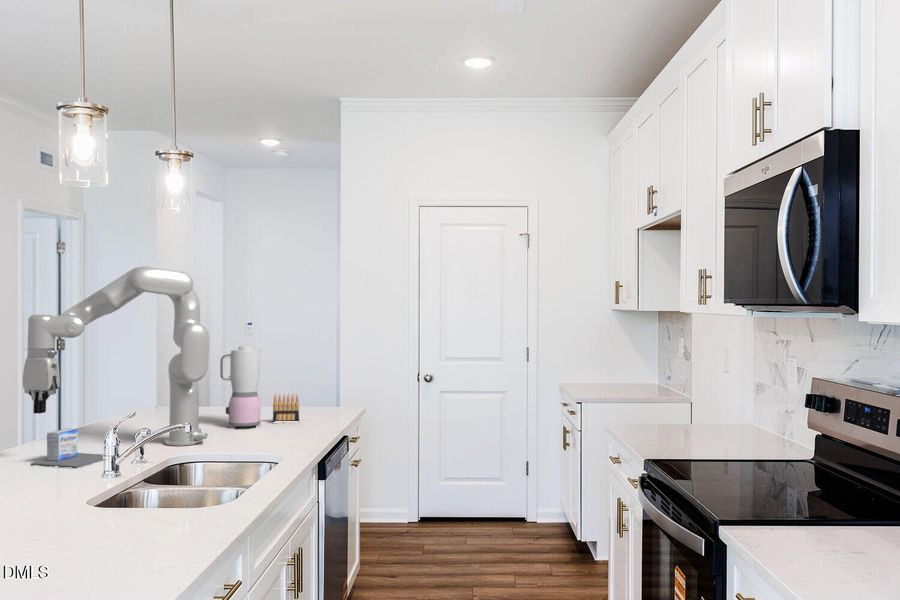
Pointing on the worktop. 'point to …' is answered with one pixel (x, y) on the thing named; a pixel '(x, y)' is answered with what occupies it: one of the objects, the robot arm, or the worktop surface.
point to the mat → (72, 461)
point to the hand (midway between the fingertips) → (39, 412)
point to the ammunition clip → (286, 409)
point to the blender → (243, 386)
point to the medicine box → (62, 444)
